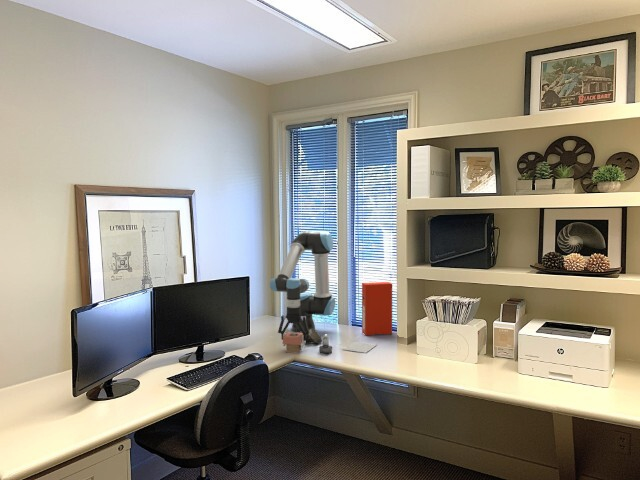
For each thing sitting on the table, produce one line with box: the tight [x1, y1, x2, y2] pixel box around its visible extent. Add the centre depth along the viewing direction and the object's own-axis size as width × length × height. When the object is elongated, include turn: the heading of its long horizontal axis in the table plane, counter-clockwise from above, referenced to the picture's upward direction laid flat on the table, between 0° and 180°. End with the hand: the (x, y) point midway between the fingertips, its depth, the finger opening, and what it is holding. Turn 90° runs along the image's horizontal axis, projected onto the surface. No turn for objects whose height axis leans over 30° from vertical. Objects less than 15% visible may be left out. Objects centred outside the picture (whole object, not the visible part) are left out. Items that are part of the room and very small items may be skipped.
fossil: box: [304, 329, 323, 345], centre depth 281 cm, size 11×9×10 cm
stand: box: [285, 332, 302, 354], centre depth 266 cm, size 7×7×10 cm
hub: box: [318, 333, 333, 355], centre depth 263 cm, size 7×7×10 cm
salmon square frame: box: [282, 331, 303, 346], centre depth 266 cm, size 10×10×4 cm
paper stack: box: [342, 341, 377, 354], centre depth 266 cm, size 23×25×1 cm
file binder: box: [361, 281, 393, 336], centre depth 301 cm, size 8×17×32 cm, turn 101°
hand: (293, 346), depth 266 cm, fingers closed on salmon square frame, 10 cm apart
